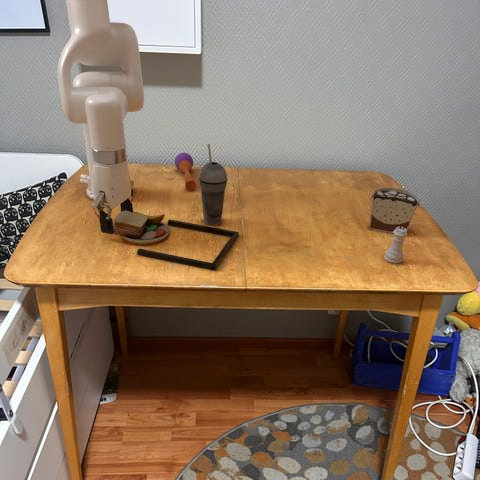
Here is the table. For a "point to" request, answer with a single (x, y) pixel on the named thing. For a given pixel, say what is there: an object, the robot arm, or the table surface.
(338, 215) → the table surface
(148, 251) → the frame
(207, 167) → the beverage cup
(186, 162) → the purple maraca
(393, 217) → the food container
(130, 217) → the toy sandwich meal
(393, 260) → the rook chess piece
